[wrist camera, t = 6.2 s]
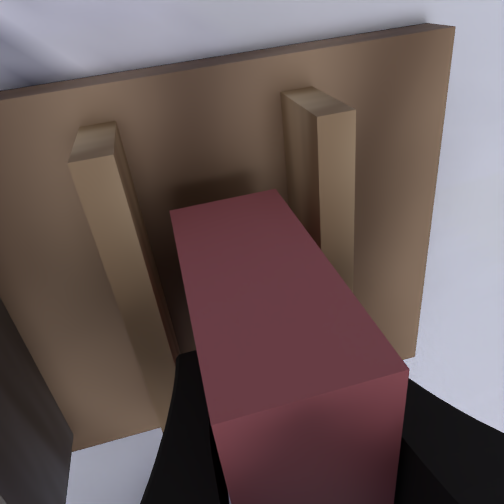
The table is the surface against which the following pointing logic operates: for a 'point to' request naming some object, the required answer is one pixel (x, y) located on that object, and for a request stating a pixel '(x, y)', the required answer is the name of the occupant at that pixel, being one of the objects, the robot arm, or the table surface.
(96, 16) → the table surface
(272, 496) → the book
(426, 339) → the table surface
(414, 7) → the table surface
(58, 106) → the book stand
